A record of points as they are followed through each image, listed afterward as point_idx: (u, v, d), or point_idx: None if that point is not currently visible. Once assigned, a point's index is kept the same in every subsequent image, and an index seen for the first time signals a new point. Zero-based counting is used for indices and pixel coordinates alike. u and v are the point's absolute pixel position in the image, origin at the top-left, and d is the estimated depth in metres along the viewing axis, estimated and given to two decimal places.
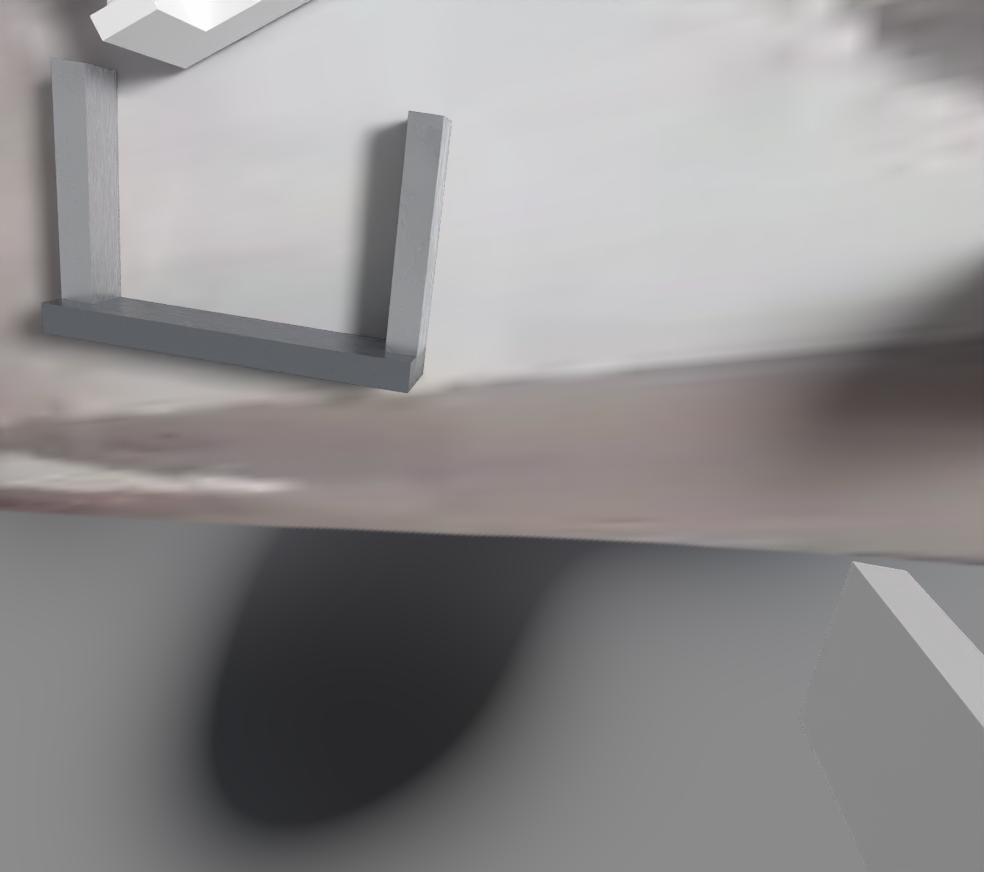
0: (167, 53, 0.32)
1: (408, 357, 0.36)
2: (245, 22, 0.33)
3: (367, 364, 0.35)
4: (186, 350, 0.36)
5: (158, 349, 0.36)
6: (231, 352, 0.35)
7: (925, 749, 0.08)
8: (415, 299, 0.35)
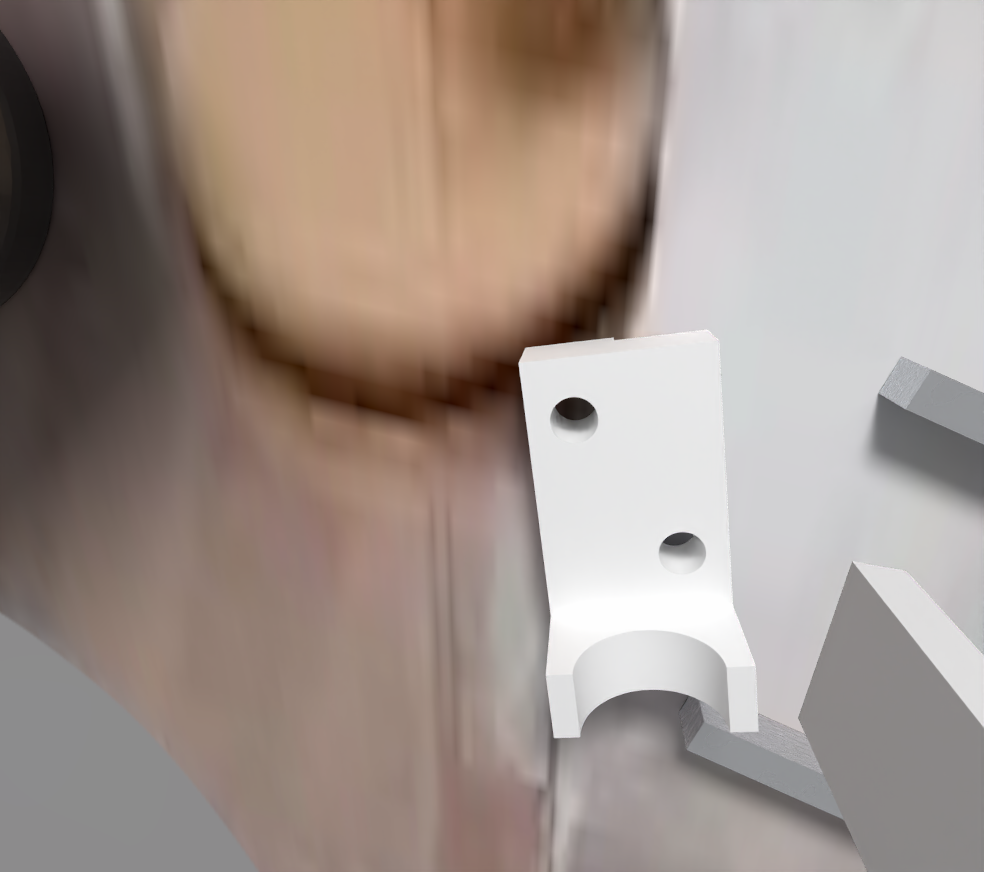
0: None
1: None
2: None
3: None
4: None
5: None
6: None
7: (925, 749, 0.08)
8: None
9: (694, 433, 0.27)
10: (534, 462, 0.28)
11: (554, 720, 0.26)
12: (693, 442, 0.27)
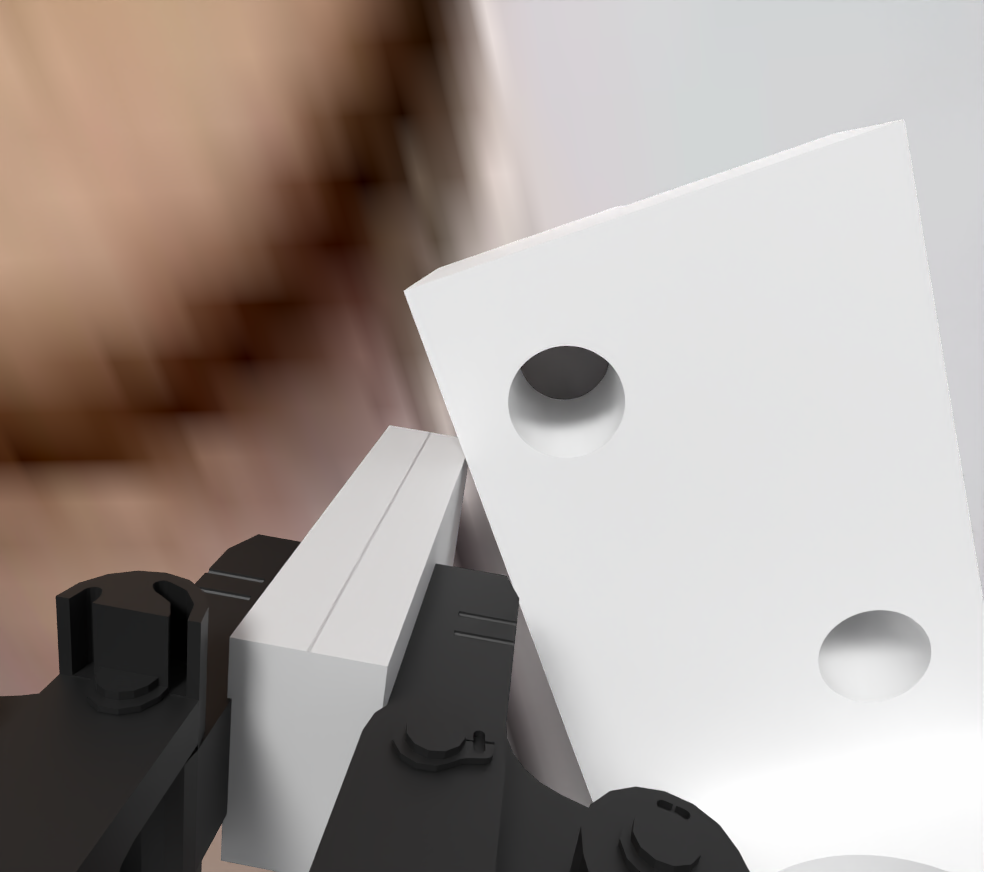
0: None
1: None
2: None
3: None
4: None
5: None
6: None
7: None
8: None
9: (868, 376, 0.11)
10: (495, 517, 0.12)
11: None
12: (869, 399, 0.11)
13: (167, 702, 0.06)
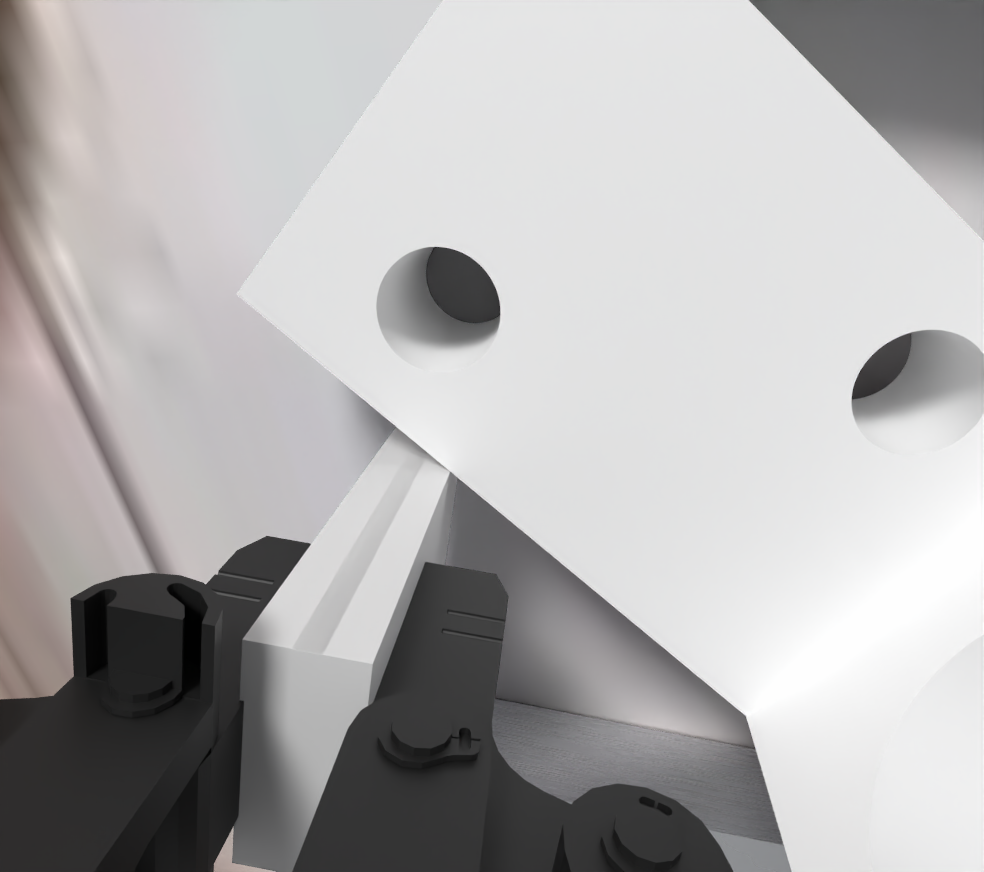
0: None
1: None
2: None
3: None
4: None
5: None
6: None
7: None
8: None
9: (710, 101, 0.09)
10: (445, 458, 0.11)
11: None
12: (727, 125, 0.09)
13: (181, 706, 0.06)
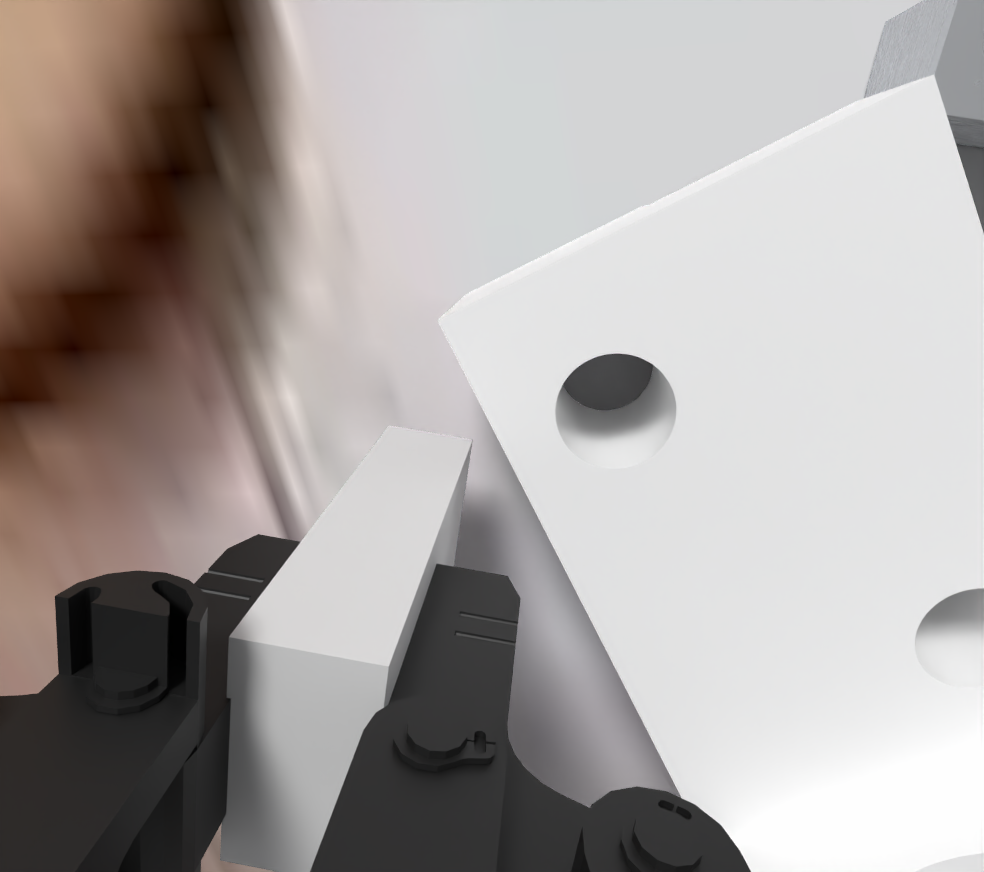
0: None
1: None
2: None
3: None
4: None
5: None
6: None
7: None
8: None
9: (929, 345, 0.10)
10: (556, 537, 0.12)
11: None
12: (933, 368, 0.10)
13: (167, 702, 0.06)
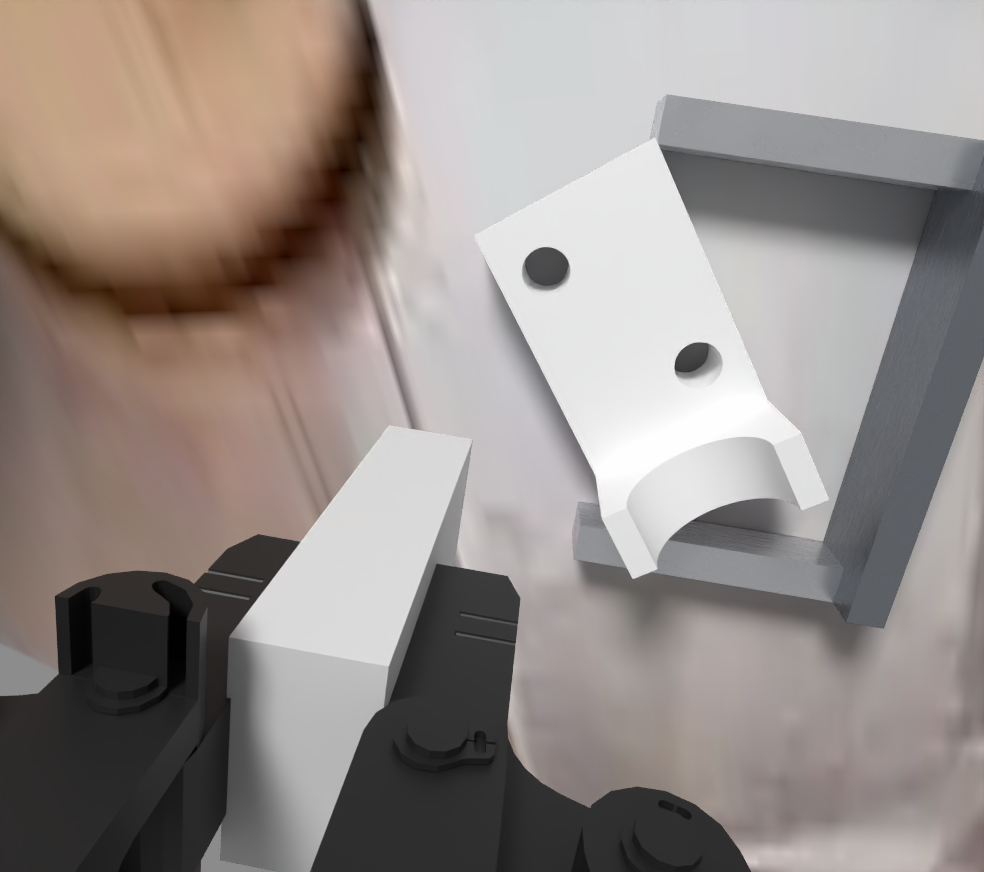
0: None
1: None
2: None
3: None
4: (936, 460, 0.27)
5: (929, 496, 0.28)
6: (950, 400, 0.26)
7: None
8: (903, 141, 0.25)
9: (665, 239, 0.26)
10: (524, 328, 0.28)
11: (626, 561, 0.26)
12: (668, 249, 0.26)
13: (166, 702, 0.06)
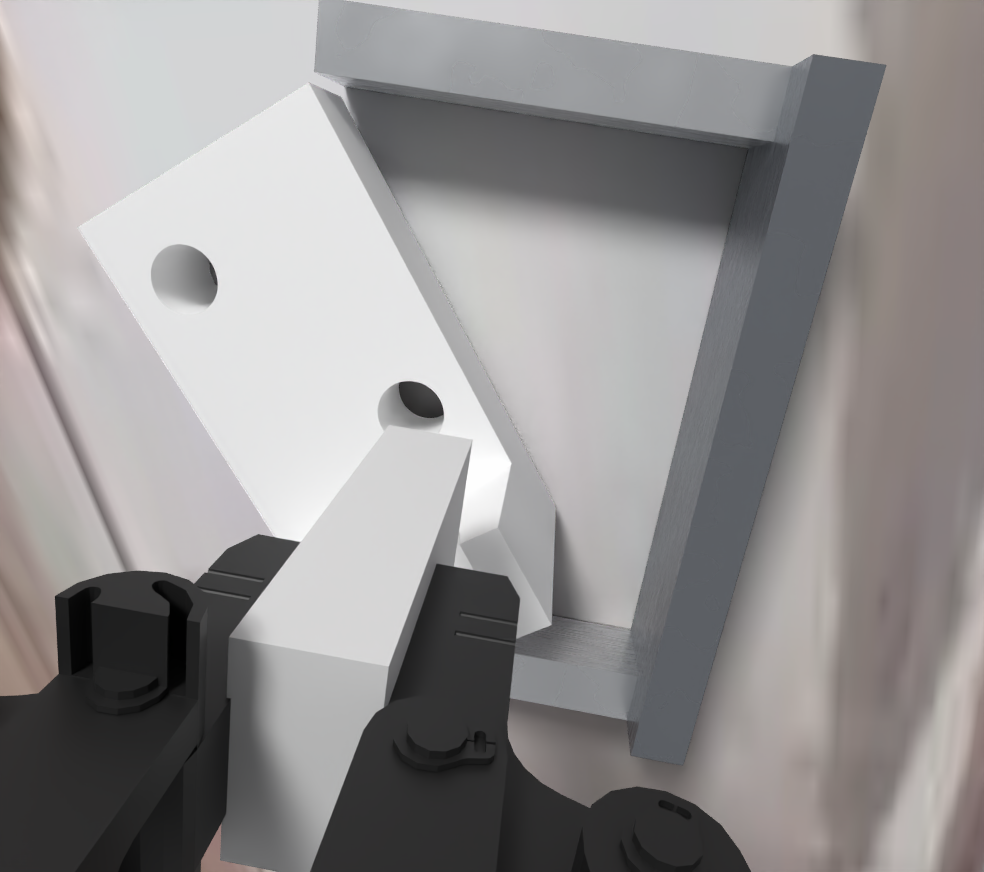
0: (545, 526, 0.20)
1: (795, 76, 0.16)
2: (491, 403, 0.20)
3: (804, 163, 0.16)
4: (736, 536, 0.19)
5: (730, 586, 0.19)
6: (749, 452, 0.18)
7: None
8: (667, 66, 0.17)
9: (342, 234, 0.18)
10: (165, 359, 0.19)
11: None
12: (348, 247, 0.18)
13: (167, 702, 0.06)
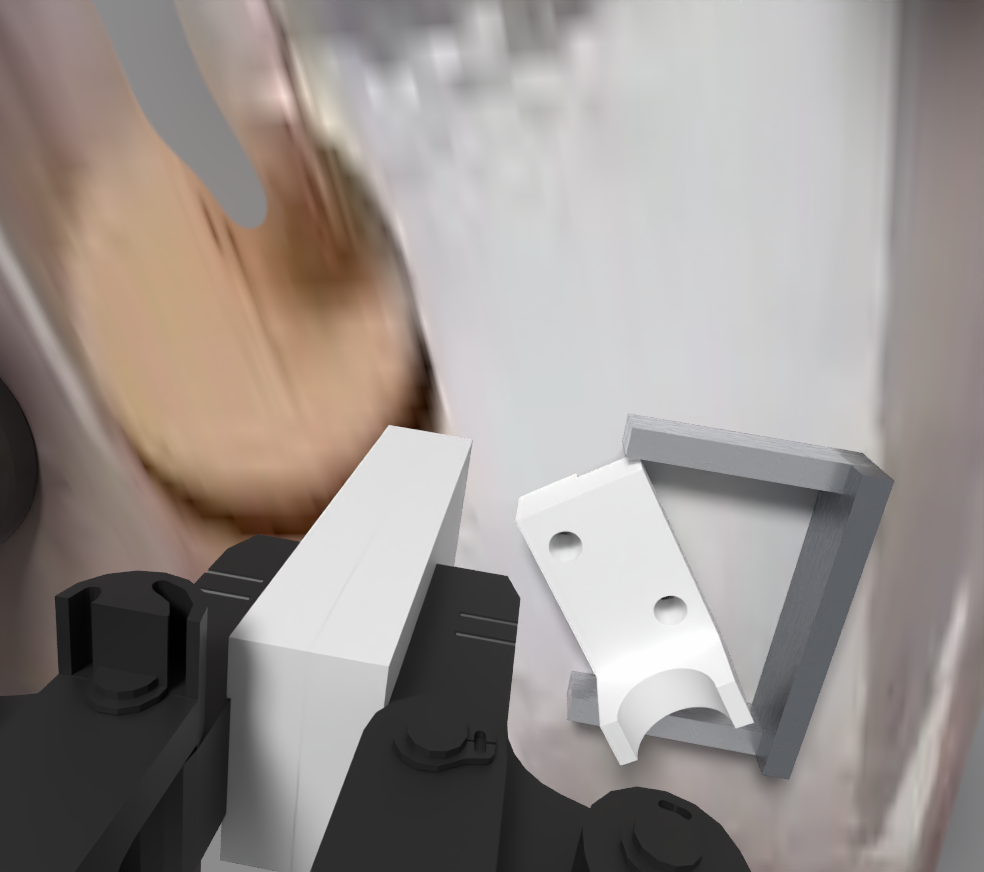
0: (732, 664, 0.40)
1: (853, 474, 0.36)
2: (704, 601, 0.40)
3: (858, 515, 0.36)
4: (821, 670, 0.39)
5: (817, 693, 0.39)
6: (828, 633, 0.38)
7: None
8: (793, 462, 0.37)
9: (648, 531, 0.38)
10: (548, 580, 0.39)
11: (616, 754, 0.38)
12: (650, 537, 0.38)
13: (167, 702, 0.06)
